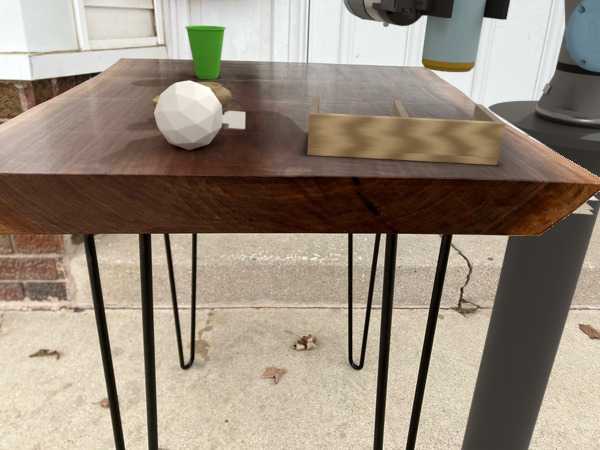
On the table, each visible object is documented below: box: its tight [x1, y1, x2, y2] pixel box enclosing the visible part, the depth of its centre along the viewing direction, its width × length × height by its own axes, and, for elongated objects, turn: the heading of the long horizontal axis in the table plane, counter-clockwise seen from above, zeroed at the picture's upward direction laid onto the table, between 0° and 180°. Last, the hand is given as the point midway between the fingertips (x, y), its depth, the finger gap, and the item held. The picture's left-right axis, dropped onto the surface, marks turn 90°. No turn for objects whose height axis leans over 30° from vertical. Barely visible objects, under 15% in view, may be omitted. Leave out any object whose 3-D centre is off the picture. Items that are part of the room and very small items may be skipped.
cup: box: [185, 25, 227, 80], centre depth 121 cm, size 9×9×11 cm
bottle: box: [421, 0, 486, 73], centre depth 68 cm, size 7×7×15 cm
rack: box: [306, 95, 506, 166], centre depth 74 cm, size 25×12×6 cm, turn 86°
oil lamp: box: [151, 81, 233, 110], centre depth 86 cm, size 11×14×5 cm
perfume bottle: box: [153, 79, 246, 151], centre depth 71 cm, size 9×9×12 cm
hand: (478, 6), depth 64 cm, fingers closed on bottle, 7 cm apart
